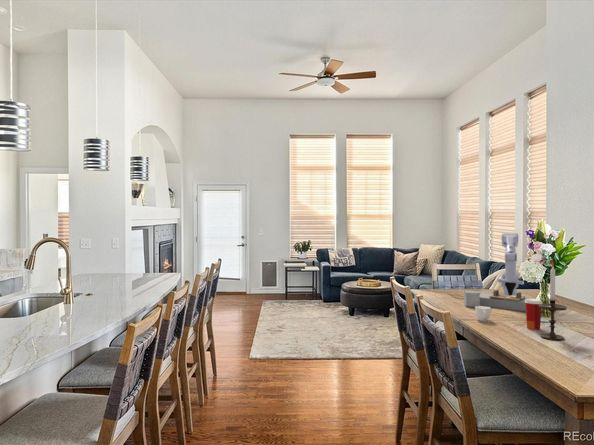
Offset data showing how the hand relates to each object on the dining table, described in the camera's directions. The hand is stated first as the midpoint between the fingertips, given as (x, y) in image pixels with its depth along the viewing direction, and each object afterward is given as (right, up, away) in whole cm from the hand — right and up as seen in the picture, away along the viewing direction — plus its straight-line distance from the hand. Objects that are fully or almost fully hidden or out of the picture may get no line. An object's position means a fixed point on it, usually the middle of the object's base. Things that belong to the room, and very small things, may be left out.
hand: (510, 295), depth 273 cm
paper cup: (-14, -8, -54) cm, 56 cm away
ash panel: (+2, -2, -1) cm, 3 cm away
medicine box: (-23, -7, +1) cm, 24 cm away
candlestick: (-15, -8, -71) cm, 73 cm away
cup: (-32, -8, -37) cm, 50 cm away
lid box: (-1, -7, +1) cm, 7 cm away
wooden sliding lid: (-4, -2, +4) cm, 6 cm away
